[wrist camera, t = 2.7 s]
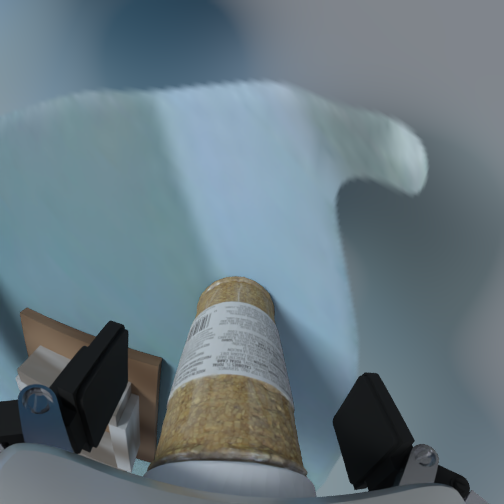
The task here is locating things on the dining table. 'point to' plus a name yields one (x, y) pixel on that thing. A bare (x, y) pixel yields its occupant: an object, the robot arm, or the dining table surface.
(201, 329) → the sprinkles bottle
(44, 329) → the socket stand
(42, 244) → the dining table surface
